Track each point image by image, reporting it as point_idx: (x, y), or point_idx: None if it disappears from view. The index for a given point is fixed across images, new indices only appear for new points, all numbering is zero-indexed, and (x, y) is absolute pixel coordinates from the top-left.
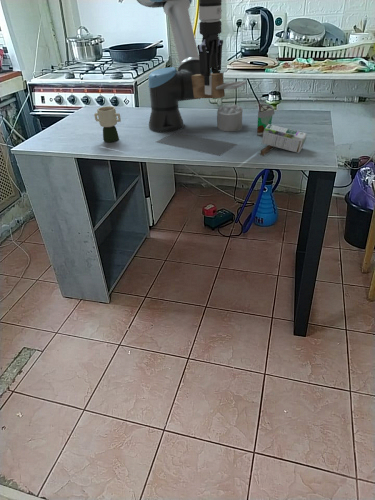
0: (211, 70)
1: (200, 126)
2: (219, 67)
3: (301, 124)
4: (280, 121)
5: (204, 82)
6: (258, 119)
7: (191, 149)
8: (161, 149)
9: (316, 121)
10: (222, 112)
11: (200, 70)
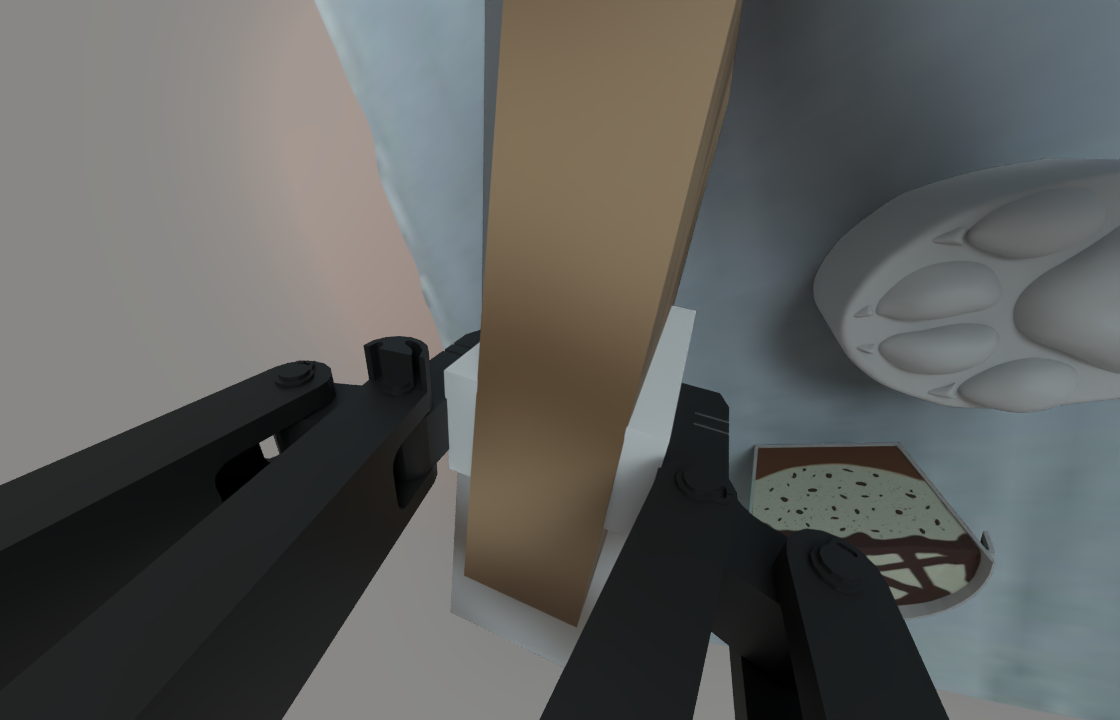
0: (652, 486)
1: (975, 5)
2: (732, 670)
3: (1006, 623)
4: (1097, 547)
5: (452, 345)
6: (749, 511)
7: (484, 208)
8: (435, 26)
9: (1071, 684)
10: (914, 272)
11: (221, 400)
